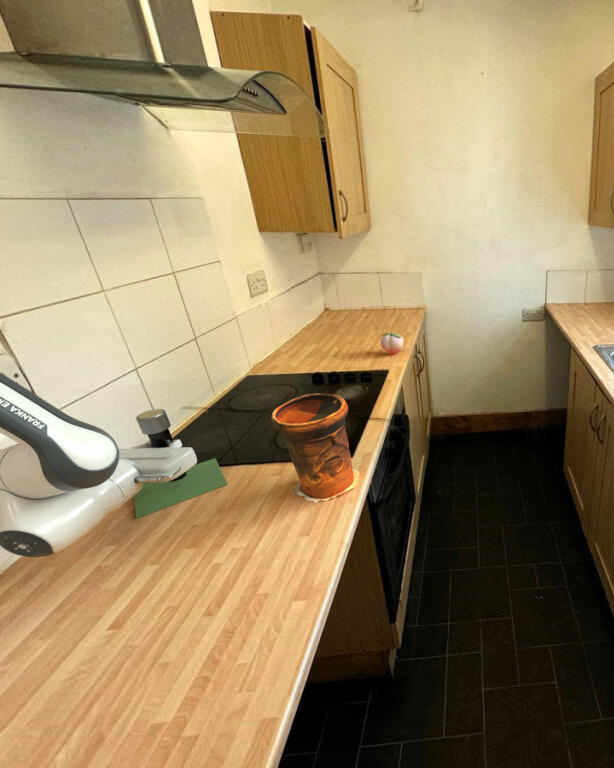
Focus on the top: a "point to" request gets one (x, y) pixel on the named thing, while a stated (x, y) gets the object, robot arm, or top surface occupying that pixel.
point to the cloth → (179, 488)
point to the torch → (157, 430)
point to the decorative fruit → (392, 342)
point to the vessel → (317, 445)
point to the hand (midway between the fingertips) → (166, 442)
